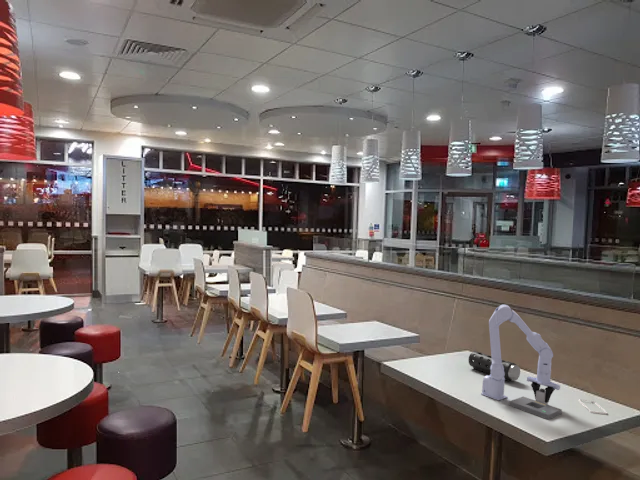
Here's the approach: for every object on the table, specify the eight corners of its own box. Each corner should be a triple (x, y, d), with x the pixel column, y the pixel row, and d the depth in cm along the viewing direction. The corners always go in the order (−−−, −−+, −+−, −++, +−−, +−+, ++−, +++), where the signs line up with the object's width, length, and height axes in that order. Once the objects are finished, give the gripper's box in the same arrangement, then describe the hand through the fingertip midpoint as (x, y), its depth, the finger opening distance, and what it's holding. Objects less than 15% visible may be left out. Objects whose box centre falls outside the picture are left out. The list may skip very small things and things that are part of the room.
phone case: (607, 415, 214) (594, 403, 229) (608, 412, 214) (594, 400, 229) (590, 413, 215) (578, 401, 230) (590, 410, 215) (578, 399, 230)
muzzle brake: (478, 367, 278) (480, 349, 278) (520, 382, 254) (521, 363, 254) (467, 369, 273) (468, 351, 273) (508, 384, 249) (510, 365, 249)
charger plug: (535, 403, 223) (536, 388, 223) (539, 401, 226) (540, 387, 225) (543, 406, 220) (544, 391, 220) (547, 404, 222) (549, 389, 222)
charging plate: (509, 405, 218) (509, 400, 218) (522, 400, 226) (523, 396, 226) (548, 419, 204) (548, 414, 204) (561, 413, 212) (561, 409, 212)
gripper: (524, 368, 225) (522, 397, 226) (556, 377, 214) (554, 407, 215) (531, 366, 230) (529, 394, 230) (562, 374, 219) (560, 404, 219)
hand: (541, 400), depth 223 cm, fingers closed on charger plug, 4 cm apart
